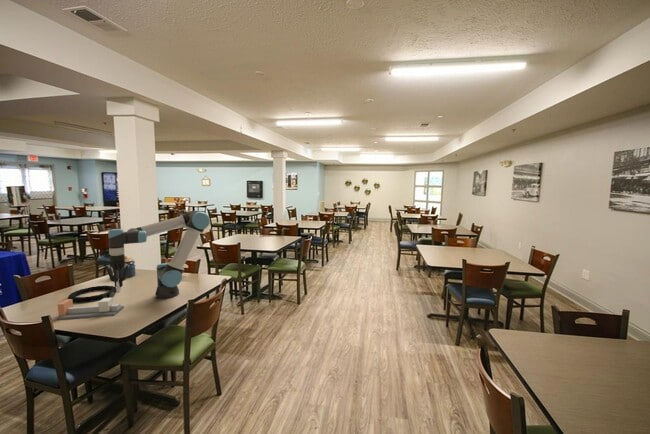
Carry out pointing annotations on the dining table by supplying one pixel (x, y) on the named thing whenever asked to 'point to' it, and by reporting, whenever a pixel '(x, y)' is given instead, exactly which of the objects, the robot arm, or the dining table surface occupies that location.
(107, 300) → the block
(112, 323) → the dining table surface
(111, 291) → the cable lock
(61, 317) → the rail board
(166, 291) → the robot arm
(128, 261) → the canister
